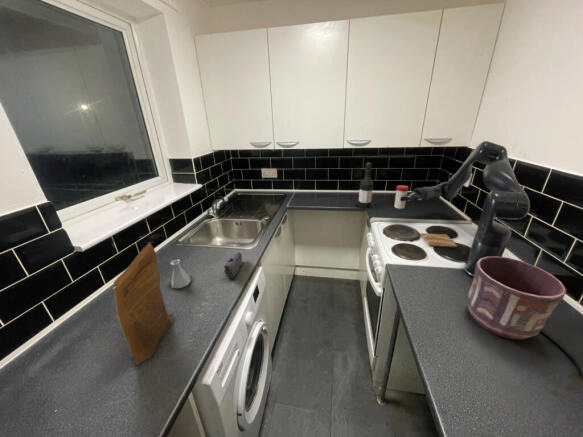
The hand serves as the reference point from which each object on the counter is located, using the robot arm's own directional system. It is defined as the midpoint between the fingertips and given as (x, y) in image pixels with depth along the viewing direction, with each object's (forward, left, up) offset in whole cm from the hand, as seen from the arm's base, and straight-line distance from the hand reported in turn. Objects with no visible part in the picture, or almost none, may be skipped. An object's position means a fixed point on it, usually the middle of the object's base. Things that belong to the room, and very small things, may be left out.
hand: (397, 197), depth 128 cm
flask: (-65, +94, -16) cm, 115 cm away
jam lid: (+1, -2, +6) cm, 6 cm away
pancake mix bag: (-89, +86, -16) cm, 125 cm away
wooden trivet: (-20, -17, -16) cm, 30 cm away
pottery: (-70, -14, -16) cm, 73 cm away
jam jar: (+1, -2, -6) cm, 6 cm away
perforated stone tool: (-54, +76, -16) cm, 95 cm away
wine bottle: (+25, +13, -16) cm, 32 cm away
